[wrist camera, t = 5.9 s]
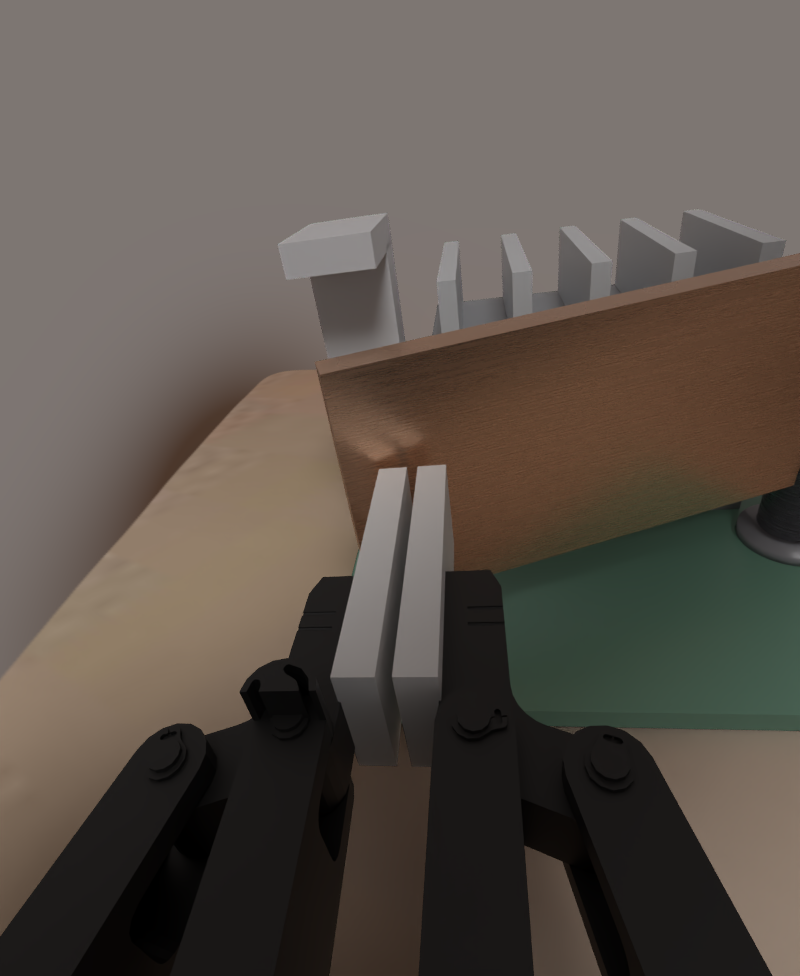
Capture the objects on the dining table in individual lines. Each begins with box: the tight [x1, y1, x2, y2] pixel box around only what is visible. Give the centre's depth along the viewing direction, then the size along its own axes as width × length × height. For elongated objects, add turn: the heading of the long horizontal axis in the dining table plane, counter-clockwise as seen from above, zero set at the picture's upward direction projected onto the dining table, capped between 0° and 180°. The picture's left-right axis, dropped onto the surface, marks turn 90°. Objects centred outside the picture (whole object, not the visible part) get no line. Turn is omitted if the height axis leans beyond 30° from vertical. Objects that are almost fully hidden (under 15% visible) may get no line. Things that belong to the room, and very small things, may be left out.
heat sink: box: [278, 209, 800, 731], centre depth 21 cm, size 20×19×14 cm
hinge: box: [315, 253, 800, 574], centre depth 17 cm, size 18×2×12 cm, turn 105°
